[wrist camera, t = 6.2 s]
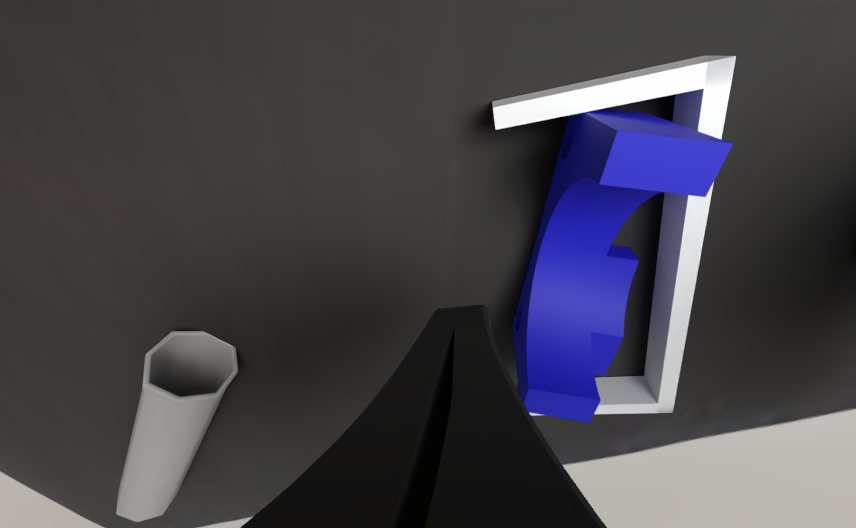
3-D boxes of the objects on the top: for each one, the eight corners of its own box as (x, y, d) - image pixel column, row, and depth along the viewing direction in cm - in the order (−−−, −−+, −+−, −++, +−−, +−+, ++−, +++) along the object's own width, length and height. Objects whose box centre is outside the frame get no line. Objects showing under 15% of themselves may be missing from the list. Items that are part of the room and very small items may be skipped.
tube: (166, 531, 35) (226, 408, 22) (98, 531, 32) (123, 393, 20) (186, 471, 39) (248, 339, 26) (127, 468, 36) (164, 320, 24)
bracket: (703, 55, 13) (736, 56, 11) (657, 384, 21) (672, 412, 20) (492, 101, 15) (492, 107, 13) (525, 388, 23) (528, 415, 21)
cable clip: (589, 336, 21) (624, 428, 15) (512, 324, 21) (521, 411, 16) (683, 116, 14) (793, 150, 9) (571, 104, 15) (617, 131, 10)
